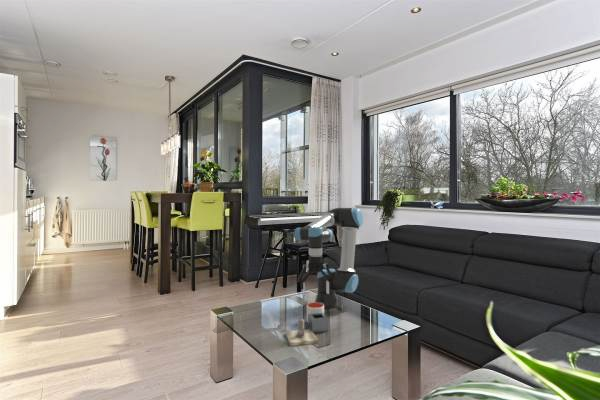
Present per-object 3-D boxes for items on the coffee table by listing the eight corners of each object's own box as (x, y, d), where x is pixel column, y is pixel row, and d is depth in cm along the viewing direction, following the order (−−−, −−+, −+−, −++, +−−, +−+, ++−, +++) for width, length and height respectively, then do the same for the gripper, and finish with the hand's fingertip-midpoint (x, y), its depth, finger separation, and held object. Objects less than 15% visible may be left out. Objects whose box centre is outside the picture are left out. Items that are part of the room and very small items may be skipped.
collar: (323, 325, 199) (323, 312, 198) (328, 331, 190) (328, 318, 190) (308, 326, 197) (307, 314, 196) (312, 332, 188) (312, 319, 188)
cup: (322, 326, 197) (322, 308, 197) (305, 325, 199) (305, 307, 199) (325, 319, 207) (325, 302, 207) (308, 318, 209) (308, 301, 209)
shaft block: (310, 331, 189) (310, 314, 189) (318, 342, 176) (318, 323, 175) (284, 334, 186) (284, 316, 186) (290, 346, 172) (290, 326, 172)
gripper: (335, 253, 199) (335, 290, 200) (291, 255, 193) (291, 293, 194) (339, 255, 192) (339, 294, 192) (294, 257, 186) (294, 297, 187)
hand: (315, 294), depth 193 cm, fingers open, 13 cm apart
